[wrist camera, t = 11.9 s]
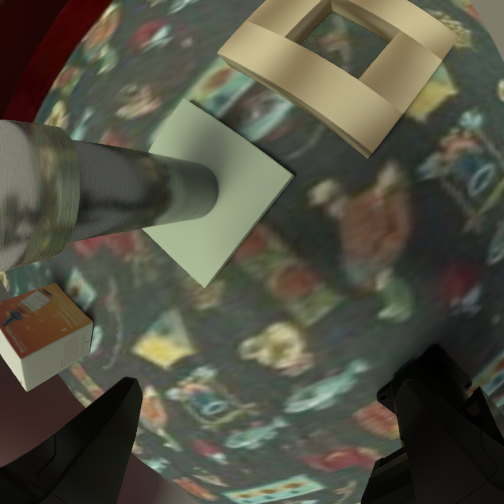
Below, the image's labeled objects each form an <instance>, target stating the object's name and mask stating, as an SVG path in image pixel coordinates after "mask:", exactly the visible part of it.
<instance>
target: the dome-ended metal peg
mask: <svg viewBox="0 0 504 504" xmlns="http://www.w3.org/2000/svg"><path fill="white" fill-rule="evenodd" d="M218 194H219V186H218V181H217V179H216V176H215V174H214V173H213V172H212V171H211V169H210V168H208V167H207V166H205V165H203V164H200V163H196V162H192V161H187V160H183V159H178V158H173V157H169V156H164V155H159V154H154V153H149V152H144V151H139V150H133V149H128V148H122V147H116V146H110V145H104V144H98V143H91V142H85V141H77V140H72V139H71V138H70V136H69V135H68V133H67V132H66V131H65V130H63V129H62V128H60V127H56V126H49V125H42V124H35V123H26V122H17V121H8V120H0V272H2V271H5V270H9V269H12V268H16V267H19V266H23V265H27V264H30V263H34V262H38V261H42V260H46V259H49V258H53V257H55V256H57V255H59V254H60V253H61V252H62V251H63V250H64V249H65V247H66V246H67V244H68V243H69V242H74V241H79V240H84V239H89V238H94V237H99V236H104V235H109V234H114V233H119V232H125V231H130V230H136V229H141V228H147V227H152V226H158V225H164V224H170V223H176V222H182V221H188V220H195V219H199V218H202V217H204V216H206V215H207V214H208V213H210V211H211V210H212V209H213V208H214V206H215V204H216V202H217V199H218Z"/></svg>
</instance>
